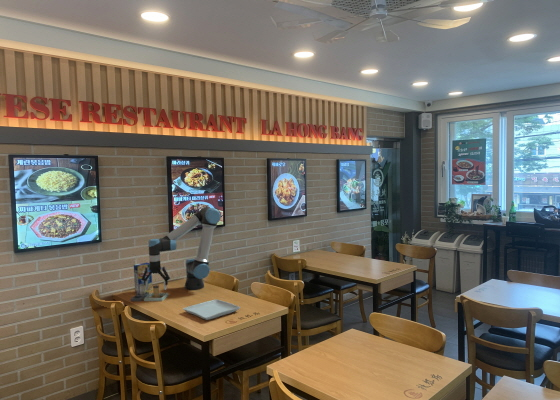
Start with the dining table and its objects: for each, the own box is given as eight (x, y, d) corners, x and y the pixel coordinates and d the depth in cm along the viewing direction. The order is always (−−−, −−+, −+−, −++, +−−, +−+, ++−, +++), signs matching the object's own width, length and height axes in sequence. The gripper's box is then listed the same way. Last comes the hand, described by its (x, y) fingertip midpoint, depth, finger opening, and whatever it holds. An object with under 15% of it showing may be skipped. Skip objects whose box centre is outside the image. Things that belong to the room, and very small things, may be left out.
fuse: (146, 295, 302) (145, 283, 302) (144, 296, 298) (143, 284, 298) (141, 295, 303) (140, 283, 302) (138, 296, 299) (138, 284, 298)
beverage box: (134, 293, 311) (133, 264, 310) (148, 290, 319) (147, 262, 317) (138, 294, 306) (137, 266, 305) (152, 291, 314) (151, 263, 312)
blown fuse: (160, 297, 296) (159, 285, 296) (158, 299, 292) (157, 286, 292) (154, 297, 296) (154, 285, 296) (152, 299, 292) (152, 286, 292)
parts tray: (168, 296, 300) (168, 292, 300) (162, 301, 287) (162, 298, 287) (151, 296, 301) (151, 293, 301) (144, 301, 288) (143, 298, 288)
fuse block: (149, 295, 304) (149, 292, 304) (140, 302, 288) (140, 298, 288) (140, 295, 304) (139, 292, 304) (131, 302, 289) (130, 298, 289)
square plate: (241, 312, 262) (241, 306, 262) (205, 323, 243) (205, 317, 243) (216, 303, 281) (216, 298, 281) (182, 313, 262) (181, 307, 262)
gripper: (173, 259, 296) (174, 287, 297) (140, 259, 297) (141, 288, 299) (170, 261, 288) (171, 290, 289) (135, 262, 290) (137, 291, 291)
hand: (156, 289), depth 294 cm, fingers open, 13 cm apart
